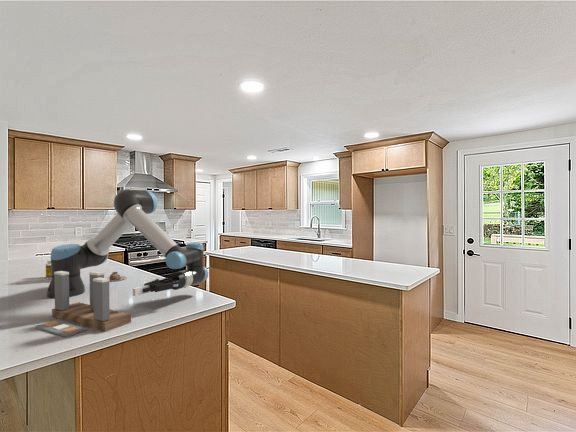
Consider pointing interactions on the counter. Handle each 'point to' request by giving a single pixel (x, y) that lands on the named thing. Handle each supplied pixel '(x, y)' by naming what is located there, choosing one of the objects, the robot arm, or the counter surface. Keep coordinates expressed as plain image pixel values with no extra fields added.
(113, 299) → the counter surface
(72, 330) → the pattern card
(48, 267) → the supplement bottle
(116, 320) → the brown wooden board
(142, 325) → the counter surface
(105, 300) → the key outer
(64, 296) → the key inner
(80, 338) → the counter surface
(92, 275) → the key middle
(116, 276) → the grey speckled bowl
